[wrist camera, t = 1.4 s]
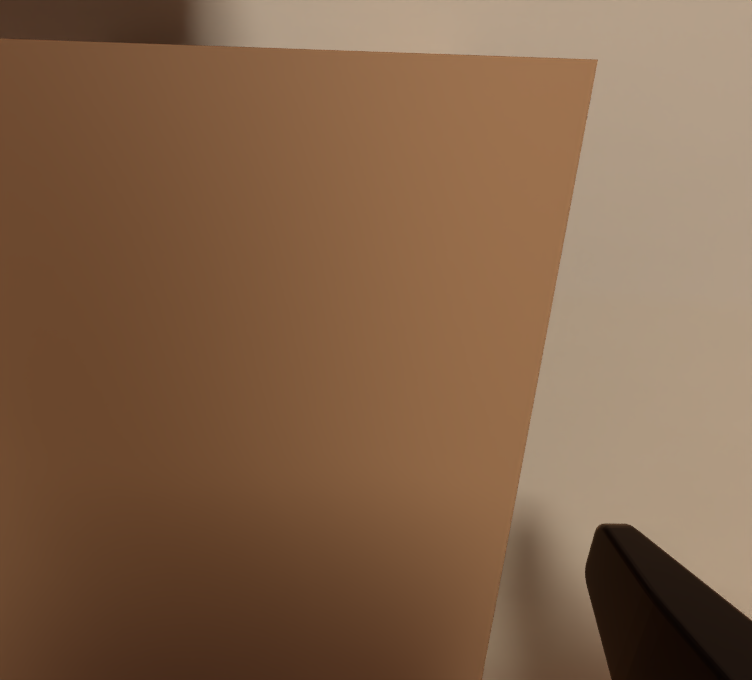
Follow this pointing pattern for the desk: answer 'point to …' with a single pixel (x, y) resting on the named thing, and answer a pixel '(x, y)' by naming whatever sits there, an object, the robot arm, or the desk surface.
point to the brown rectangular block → (269, 353)
